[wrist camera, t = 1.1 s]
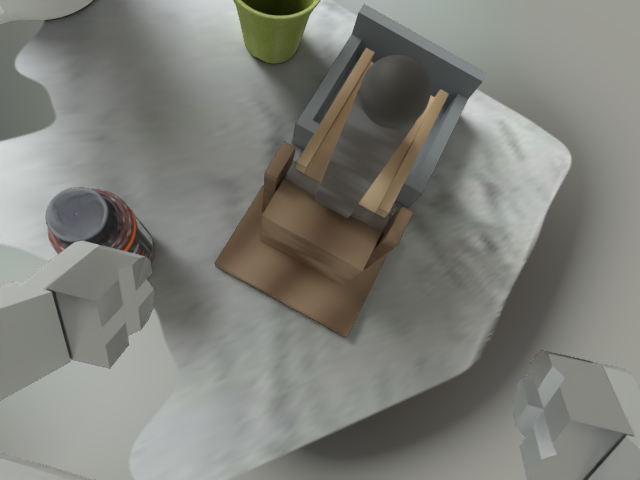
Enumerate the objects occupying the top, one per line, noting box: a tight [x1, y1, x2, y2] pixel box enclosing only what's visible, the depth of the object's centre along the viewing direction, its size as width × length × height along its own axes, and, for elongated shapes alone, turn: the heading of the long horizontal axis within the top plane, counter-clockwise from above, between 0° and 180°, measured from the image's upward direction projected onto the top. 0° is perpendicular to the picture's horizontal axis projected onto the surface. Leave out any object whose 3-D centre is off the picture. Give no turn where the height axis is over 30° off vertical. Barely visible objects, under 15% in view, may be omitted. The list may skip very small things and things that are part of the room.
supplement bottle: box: [46, 187, 154, 261], centre depth 35 cm, size 6×6×11 cm
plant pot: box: [234, 0, 320, 63], centre depth 44 cm, size 9×9×9 cm
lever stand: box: [215, 141, 413, 337], centre depth 38 cm, size 14×12×11 cm
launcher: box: [285, 48, 449, 232], centre depth 28 cm, size 9×14×17 cm, turn 153°
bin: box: [292, 4, 487, 207], centre depth 44 cm, size 14×14×7 cm
